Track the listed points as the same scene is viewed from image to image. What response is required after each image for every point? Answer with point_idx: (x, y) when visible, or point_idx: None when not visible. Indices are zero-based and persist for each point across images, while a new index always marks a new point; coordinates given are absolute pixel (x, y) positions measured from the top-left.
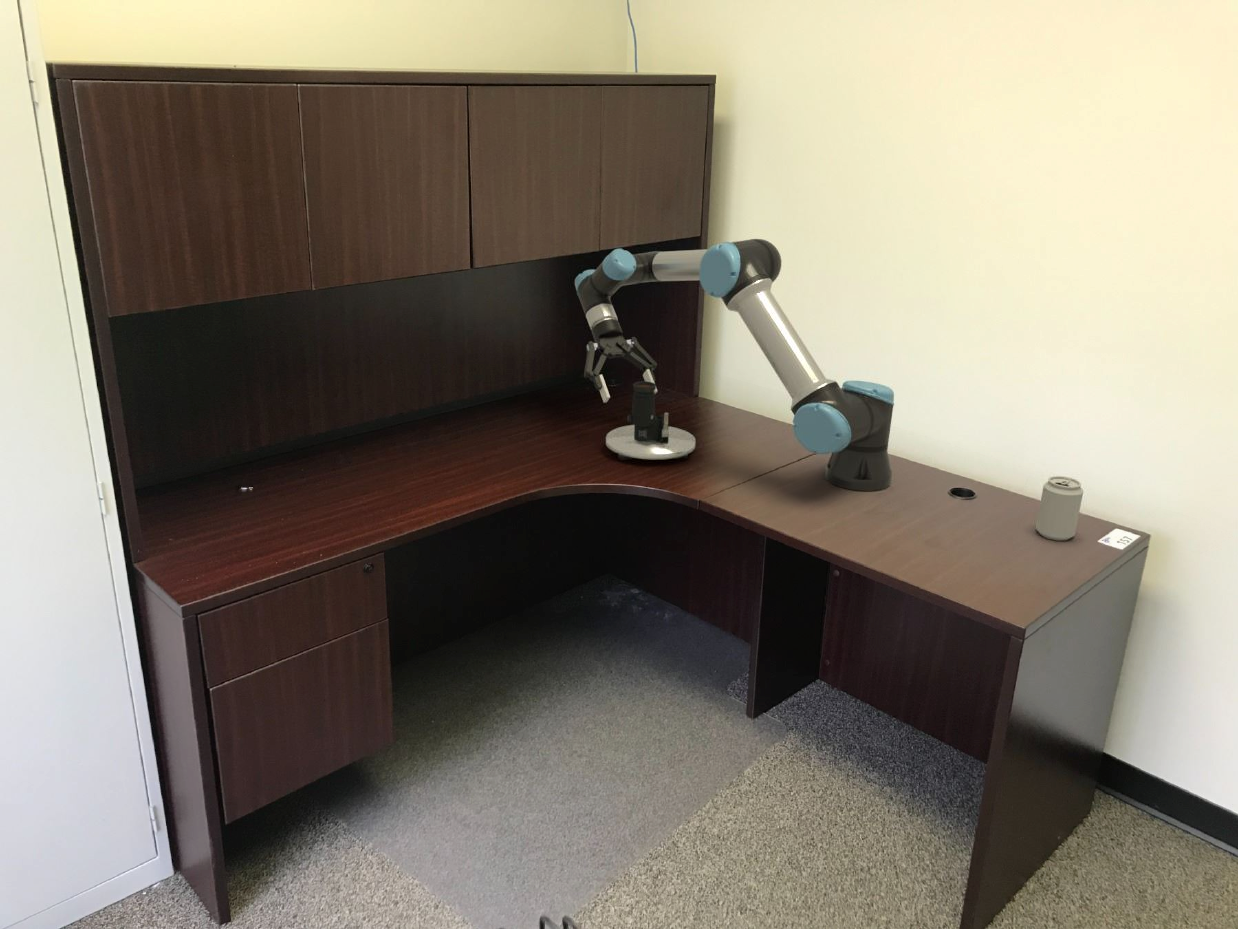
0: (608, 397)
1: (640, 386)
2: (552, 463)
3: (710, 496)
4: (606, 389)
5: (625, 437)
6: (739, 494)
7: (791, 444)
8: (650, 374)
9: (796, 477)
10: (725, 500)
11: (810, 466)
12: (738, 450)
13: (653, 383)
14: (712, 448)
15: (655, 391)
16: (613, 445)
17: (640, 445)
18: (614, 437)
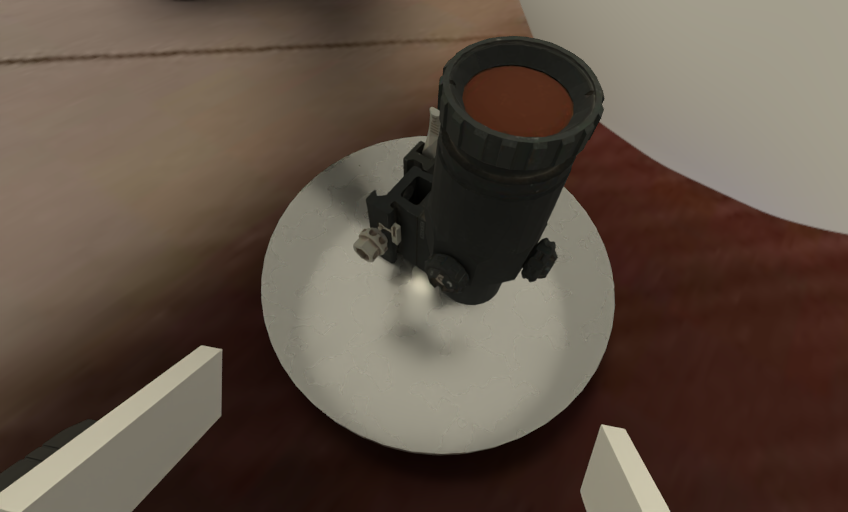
0: (613, 431)
1: (547, 104)
2: (820, 390)
3: (506, 35)
4: (636, 480)
5: (520, 322)
6: (448, 18)
7: (57, 114)
8: (72, 448)
9: (280, 12)
10: (493, 15)
11: (195, 26)
12: (209, 155)
13: (451, 69)
14: (249, 202)
15: (216, 351)
16: (612, 278)
17: None
18: (562, 348)
